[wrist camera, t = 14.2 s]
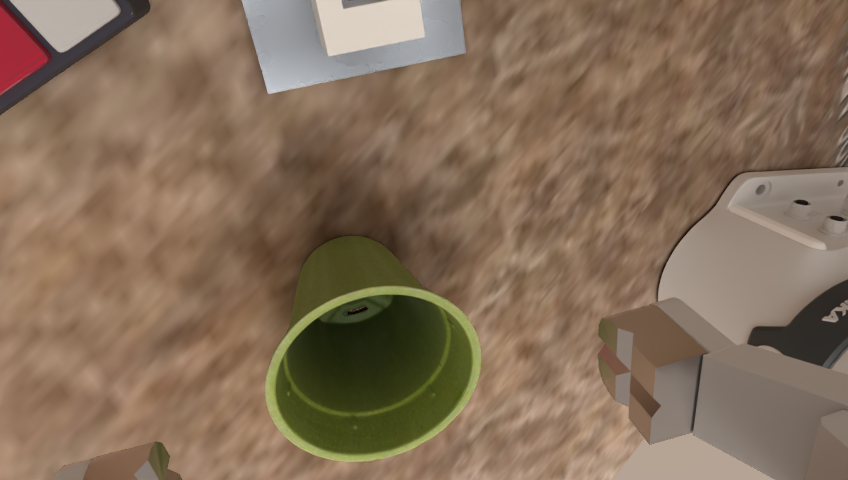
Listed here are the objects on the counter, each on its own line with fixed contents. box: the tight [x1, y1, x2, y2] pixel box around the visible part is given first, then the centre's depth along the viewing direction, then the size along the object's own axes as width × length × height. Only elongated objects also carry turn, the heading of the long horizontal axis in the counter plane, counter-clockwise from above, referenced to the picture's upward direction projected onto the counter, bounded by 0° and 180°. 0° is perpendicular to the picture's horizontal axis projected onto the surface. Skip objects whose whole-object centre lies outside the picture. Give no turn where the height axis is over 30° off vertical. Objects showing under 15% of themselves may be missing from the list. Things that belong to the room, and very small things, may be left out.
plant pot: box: [265, 236, 481, 462], centre depth 35 cm, size 12×12×11 cm
